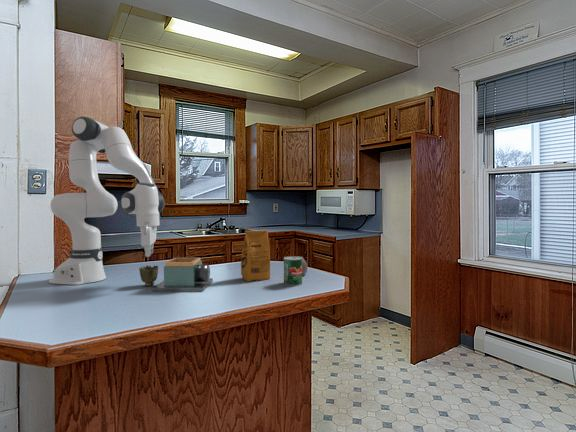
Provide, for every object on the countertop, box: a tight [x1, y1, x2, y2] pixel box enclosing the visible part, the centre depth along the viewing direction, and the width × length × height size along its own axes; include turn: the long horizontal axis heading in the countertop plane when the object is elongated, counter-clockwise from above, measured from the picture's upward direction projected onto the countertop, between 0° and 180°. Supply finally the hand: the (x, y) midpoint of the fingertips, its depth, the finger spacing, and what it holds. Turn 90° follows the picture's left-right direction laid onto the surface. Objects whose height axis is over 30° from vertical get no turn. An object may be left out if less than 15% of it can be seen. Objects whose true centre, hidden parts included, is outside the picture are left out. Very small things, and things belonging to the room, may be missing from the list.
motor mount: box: [151, 257, 214, 293], centre depth 148 cm, size 20×16×11 cm
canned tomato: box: [283, 255, 303, 287], centre depth 151 cm, size 8×8×11 cm
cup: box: [138, 264, 159, 287], centre depth 149 cm, size 8×7×8 cm
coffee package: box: [240, 229, 271, 282], centre depth 160 cm, size 10×12×22 cm
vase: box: [297, 255, 308, 277], centre depth 167 cm, size 7×7×9 cm
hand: (149, 255), depth 148 cm, fingers open, 8 cm apart
